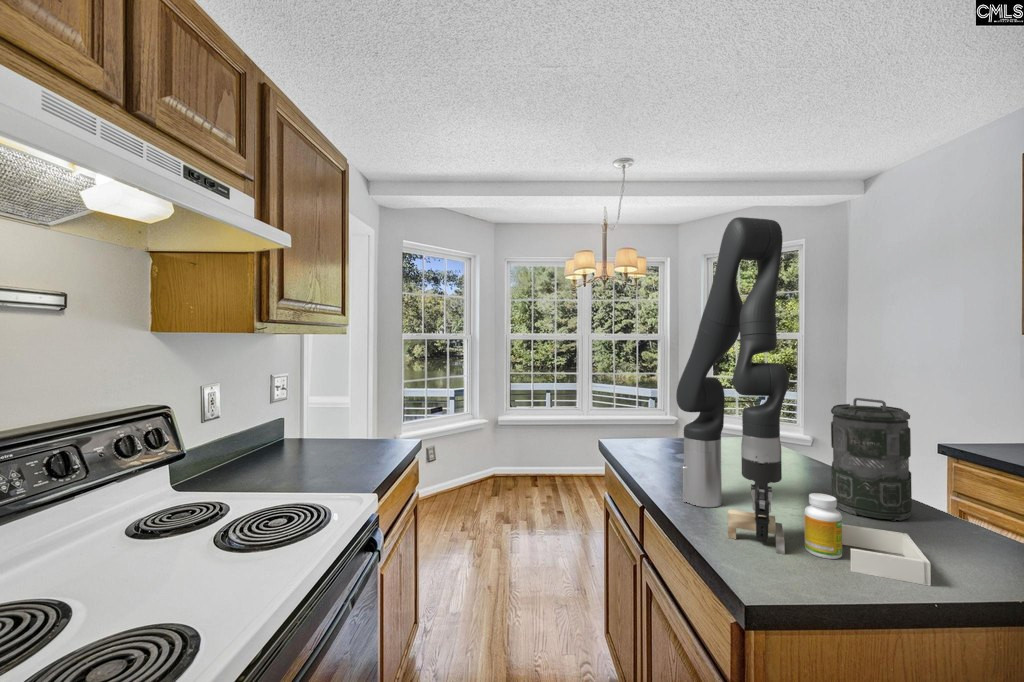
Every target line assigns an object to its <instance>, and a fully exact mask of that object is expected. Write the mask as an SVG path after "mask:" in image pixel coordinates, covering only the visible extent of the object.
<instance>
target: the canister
mask: <svg viewBox="0 0 1024 682" xmlns="http://www.w3.org/2000/svg"><path fill="white" fill-rule="evenodd" d="M857 401H861V402H870V403H871V402H872V403H879V404H882V405H880V406H874V405H857ZM852 403H853V404H852V405H851V404H850V403H847V404H846V403H844V404H835V405H834V406H832V408H831V409H830V413H831V414H832V421H831V422H830V439H831V441H830V442H831V448H832V459H833V460H832V463H831V469H830V471H831V496H833V497H835V498H836V500H837V507H836V508H838V509H840V510H841V511H844V512H845V513H848V514H851V515H853V514H854V516H856V515H858V516H863V517H867V518H873V519H880V520H881V519H882V520H891V521H892V520H893V521H892V522H897V521H896V520H899V521H903V520H907V519H909V518H910V517H911V515H912V506H913V505H912V502H913V501H912V493H913V491H912V472H911V470H910V469H909V468H910V467H909V466H910V463H909V461H910V459H909V458H910V457H911V452H912V445H911V443H912V442H911V441H912V439H911V433H912V432H911V428H910V427H909V421H908V420H910V419H911V414H910V413H909V412H908V411H906V410H904V409H902V408H901V407H893V406H888V405H887V403H886V402H885V401H884V400H881V399H873V398H865V397H864V398H863V397H855V398H854V399H853V402H852Z"/></svg>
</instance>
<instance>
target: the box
mask: <svg viewBox="0 0 1024 682" xmlns="http://www.w3.org/2000/svg"><path fill="white" fill-rule="evenodd" d="M843 545H845V546H850V547H854V548H850V571H851V572H852V573H857V574H863V575H870V576H875V577H880V578H885V579H891V580H894V581H895V580H897V581H901V582H907V583H913V584H918V585H923V586H929V587H931V585H932V584H931V582H932V579H931V575H932V574H931V562H930V560H928V558H927V557H926V555H924V553H923V552H922V550H921V549H920V548H919V547H918V546H917V544H916V542H914V541H913V539H912V538H911V537H910V535H909V534H908V533H905V532H898V531H892V530H886V529H878V528H872V527H866V526H865V527H864V526H859V525H858V526H856V525H852V524H849V525H848V524H843V523H842V546H843ZM855 547H857V548H855ZM858 548H862V549H858ZM864 549H869V550H874V551H875V552H874V551H869V550H864ZM876 551H880V552H876ZM882 552H887V553H882ZM888 553H893V554H888ZM894 554H898V555H894ZM900 555H903V556H900Z"/></svg>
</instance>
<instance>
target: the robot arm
mask: <svg viewBox="0 0 1024 682" xmlns="http://www.w3.org/2000/svg"><path fill="white" fill-rule="evenodd" d="M725 227H726V228H725V229H724V231H723V235H722V238H721V243H720V247H719V252H718V256H717V261H716V267H715V270H714V276H713V279H712V283H711V286H710V290H709V294H708V296H707V297H708V298H707V301H706V304H705V307H704V309H703V313H702V316H701V318H700V323H699V325H698V329H697V333H696V337H695V340H694V342H693V347H692V349H691V352H690V355H689V358H688V360H687V363H686V365H685V367H684V370H683V372H682V374H681V375H680V379H679V382H678V385H677V388H676V393H675V394H676V396H675V398H676V403H677V406H678V407H679V409H680V410H681V411H683V412H686V413H699V415H698V416H697V417H696V418H695V419H694V420H693V421H691V422H689V423H687V424H685V425H684V427H683V466H682V502H683V503H686V502H687V504H689V503H690V505H693V506H695V505H696V507H702V508H717V507H720V506H721V505H722V504H723V503H722V502H723V501H722V498H723V495H722V493H723V492H722V491H723V490H722V489H723V488H722V486H723V485H722V431H723V428H724V424H725V423H724V420H725V403H726V401H725V399H726V398H725V389H724V387H723V384H722V383H721V381H720V380H719V379H718V378H716V377H713V376H707V375H708V374H709V372H710V370H711V369H712V367H713V366H714V365H715V364H716V363H717V362H718V361H719V360H720V359H721V358H722V357H723V356H724V355H726V354H727V353H728V352H729V350H731V349H732V347H733V346H734V344H735V343H736V342H737V340H738V338H739V343H740V344H739V351H738V356H737V362H736V365H735V367H734V372H733V375H732V386H733V389H734V390H735V391H736V392H737V393H738V394H739V395H741V396H749V397H751V396H752V397H767V399H766V400H765V401H764V402H763V403H762V404H757V405H752V406H749V407H745V408H744V409H743V410H742V414H741V415H742V416H741V418H742V419H741V420H742V435H741V436H742V438H741V442H740V443H741V444H740V445H741V447H740V448H741V451H740V452H741V475H742V477H743V478H744V479H746V480H748V481H753V482H754V483H753V484H750V489H751V491H750V495H751V498H752V510H753V511H754V513H755V521H756V531H755V533H756V534H755V537H756V540H758V541H762V542H768V540H769V533H768V524H769V522H770V520H769V515H770V513H772V499H773V488H772V486H769V484H771V483H772V484H775V483H778V482H781V481H782V478H783V477H782V475H783V474H782V471H783V470H782V469H783V468H782V444H781V443H782V442H781V435H780V434H781V433H780V431H781V430H780V429H781V427H780V424H781V422H780V420H781V412H782V407H783V403H784V400H785V396H786V393H787V391H788V388H789V384H790V374H789V371H788V370H787V368H786V367H785V366H784V365H782V364H781V363H779V362H752V360H753V357H754V356H756V355H759V354H764V353H765V354H766V353H768V352H772V351H774V350H775V349H776V348H777V346H778V337H777V318H776V317H777V316H776V313H777V312H776V301H777V291H778V285H779V284H778V283H779V279H780V278H779V277H780V270H781V269H780V267H781V259H782V251H783V230H782V227H781V225H780V223H779V222H777V221H776V220H774V219H769V218H768V219H766V218H757V217H756V218H754V217H746V216H745V217H744V216H741V217H735V218H732V219H731V220H730V221H729V222H728V223H727V226H725ZM742 260H743V261H756V266H757V275H756V279H755V282H754V284H753V287H752V288H751V290H750V292H749V293H748V295H747V297H746V298H745V300H744V302H743V301H742V297H741V294H740V293H739V288H738V284H737V283H738V282H737V278H738V271H739V267H740V265H741V264H740V263H741V262H742ZM758 515H764V516H766V517H762V516H758Z"/></svg>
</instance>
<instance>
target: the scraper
mask: <svg viewBox="0 0 1024 682" xmlns="http://www.w3.org/2000/svg"><path fill="white" fill-rule="evenodd" d="M727 510H728V511H727V538H728V537H729V538H728V539H730V538H734V539H733V540H735V539H736V540H737V529H739V530H746V531H753V532H756V521H755V512H749V511H743V510H742V511H741V510H736V509H727ZM758 516H762V517H766V516H764V515H758ZM769 520H770V522H769V524H768V534H771V535H774V542H775V550H776V551H775V552H776V553H777V554H781V555H786V553H785V536H784V528H783V523H780V522H776V516H775V515H770V514H769Z"/></svg>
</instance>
